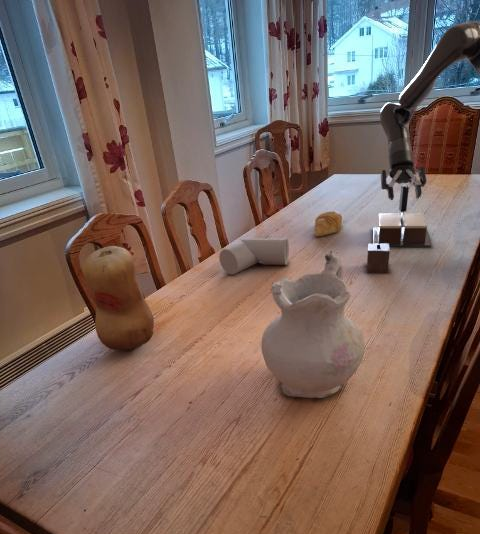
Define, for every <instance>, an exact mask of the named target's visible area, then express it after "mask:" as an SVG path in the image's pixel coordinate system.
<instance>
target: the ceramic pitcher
mask: <svg viewBox="0 0 480 534" xmlns="http://www.w3.org/2000/svg"><path fill="white" fill-rule="evenodd" d="M324 258H325V264H324V269H323V270H322V271H321V272H316V273H307V274H304V275H302V276H299V278H298V279H295V280H293V279H291V278H286V277H280V278H279V280H278V281H277V282H274V281H272V282H271V283H272V284H271V287H270V288H269V290H270V293H271V295H272V297H273V300H274V303H275V304H276V306H277V307H278V309H280V312H281V315H279V316H277V317H276V318H274V319H273V320H272V321H270V323H269V324H268V326H266V328H265V329H264V331H263V333H262V337H261V353H262V357H263V360H264V363H265V365H266V367H267V369H268V370H269V372H270V373H271V374H272V375H273V377H275V378H276V379H277V380H278V382H280V383H281V386H280V388H281V390H282V393H283V395H285V396H287V397H295V398H297V397H298V398H307V399H308V398H309V399H325V398H328V397H331V396H333V395H334V394H336V393H337V392H338V391H339V390H341V389H342V387H343V386H342V385H344V384H345V383H346V382H348V381H349V380H350V379H351V378H352V377H353V376H354V375H355V373H356V372H357V371H358V369H359V367H360V365H361V363H362V361H363V358H364V355H365V349H366V346H365V345H366V344H365V338H364V335H363V333H362V331H361V330H360V328H359V326H358V325H357V324H356V323H355V322H354V321H352V320H351V319H349V318H348V317H347V316H346V315H345V308H346V305H347V303H348V301H349V300H350V298H351V291H349V290H348V286H347V285H346V283H345V281H344V280H343V279H344V265H343V261H342V259H341V258H340V256H339V255H338V251H337V252H336V250H334V251H333V250H329V251H328V252H327V253H326V254H325V256H324Z"/></svg>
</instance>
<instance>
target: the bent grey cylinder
mask: <svg viewBox="0 0 480 534" xmlns="http://www.w3.org/2000/svg"><path fill="white" fill-rule="evenodd" d="M239 240H240V241H239V242H237V243H234V244H233V245H231V246H229V247H226V248H223V249H221V251H220V252H219V256H218V257H219V263H220V266H221V268H222V269H223V271H224V272H225V273H226V274H228V275H230V276H231V275H235V274H238V273H239V272H242V271H244V270H246V269H248V268H249V267H252V266H254V265H256V264H258V263H261V264H262V265H264V266H265V265H268V266H269V265H271V266H287V265H288V261H289V253H290V246H289V245H290V244H289V240H288V238H239Z"/></svg>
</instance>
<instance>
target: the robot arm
mask: <svg viewBox="0 0 480 534" xmlns="http://www.w3.org/2000/svg"><path fill="white" fill-rule="evenodd" d="M463 61H467V62H468V63H469V64H470V65H471V66H472V67H473V69H475V71H476V73H477V74H478V75H479V77H480V22H479V21H475V20H471V21H466V22H462V23H458V24H455V25H453V26H450V27H449V28H448V29H447V30H446V31H444V33H443V35H441V37H440V39H439V40H438V42H437V43H436V45H435V46H434V48H433V50H432V52H431V53H430V55H429V56H428V58H427V60H426V61H425V63H424V64H423V66H422V67H421V68H420V70H419V71H418V73H417V74H416V75H415V76H414V78H413V79H412V80H411V81H410V83H409V84H408V85H407V86H406V87H405V88H404V90H403V91H402V92H401V93H400V95H399V98H398V103H394V102H387V103H385V104H384V105H383V106H382V108H381V110H380V114H379V120H380V124H381V127H382V129H383V131H384V134H385V136H386V137H387V138H386V139H387V146H388V151H387V153H388V154H387V157H388V162H389V171H387V170H385V169H383V170H382V171H381V173H380V188H381V190H386V191H387V198H388V199H389V200H390V201H394V198H395V193H394V187H395V185H396V183H397V184H398V185H399V184H409V185H411V186H413V188H415V189H414V193H415V199H420V197H421V196H422V194H423V193H422V188H424V187H425V186H426V184H427V181H428V180H427V176H426V170H425V167H422V166H421V167H420V168H417V169H416V168H415V165H414V157H413V149H412V144H411V140H410V131H409V129H408V127H407V125H409V123H410V122H411V120H412V118H413V116H414V114H415V112H416V110H417V108H418V107H419V106H420V105H421V104H422V103H423V102H424V101H425V99H426V98H427V97H428V96H429V95H430V93H431V92H432V91H433V89H434V87H435V84H436V81H437V79H438V78H439V76H440V75H442V73H443V72H444V71H445V70H447V69H448V68H449V67H450V66H452V65H454V63H455V64H456V63H459V62H463ZM415 174H416V175H417V176H416V175H415ZM388 176H389V177H390V178H391V181H390V182H389V183H387V179H388ZM418 178H419V179H418Z"/></svg>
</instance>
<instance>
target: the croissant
mask: <svg viewBox="0 0 480 534" xmlns="http://www.w3.org/2000/svg"><path fill="white" fill-rule="evenodd" d="M342 223H343V217H342V215H341V214H340V213H337V212H335V211H325V212H323V213H321V214H319V215H318V216H317V217H316V218H315V220H314V231H313V235H314V236H315V237H323V236H328V235H331V234H335V233H337V232H338V231H339V230H340V229H341V226H342Z"/></svg>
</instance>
